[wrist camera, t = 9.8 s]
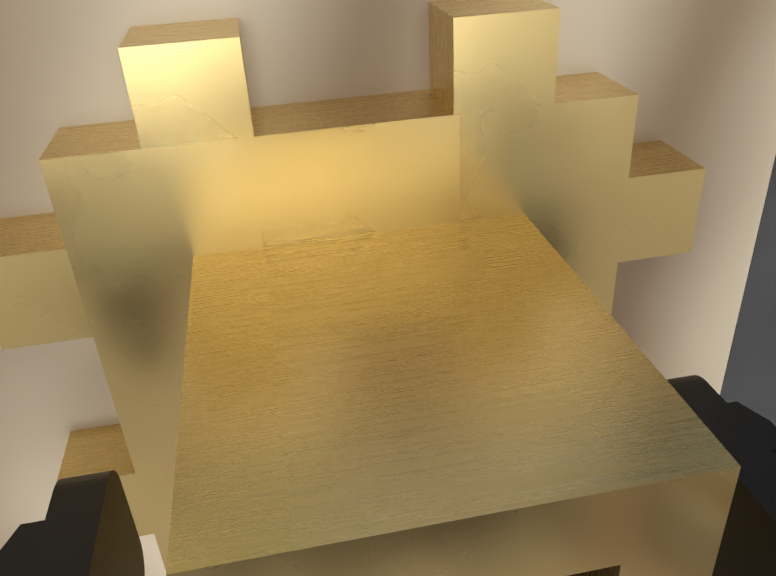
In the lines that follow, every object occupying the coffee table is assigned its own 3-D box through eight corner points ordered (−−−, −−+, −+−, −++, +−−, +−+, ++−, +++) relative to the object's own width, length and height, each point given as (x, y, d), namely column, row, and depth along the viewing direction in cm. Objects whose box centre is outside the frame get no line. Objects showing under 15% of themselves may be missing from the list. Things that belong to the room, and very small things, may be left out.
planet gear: (684, -22, 12) (1187, 102, 6) (609, 487, 18) (816, 822, 12) (-68, 44, 11) (-517, 315, 4) (123, 578, 17) (58, 1023, 10)
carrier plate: (796, -203, 13) (1456, -285, 6) (657, 500, 21) (858, 796, 14) (-304, -148, 10) (-1335, -176, 3) (46, 617, 19) (-55, 1035, 12)
